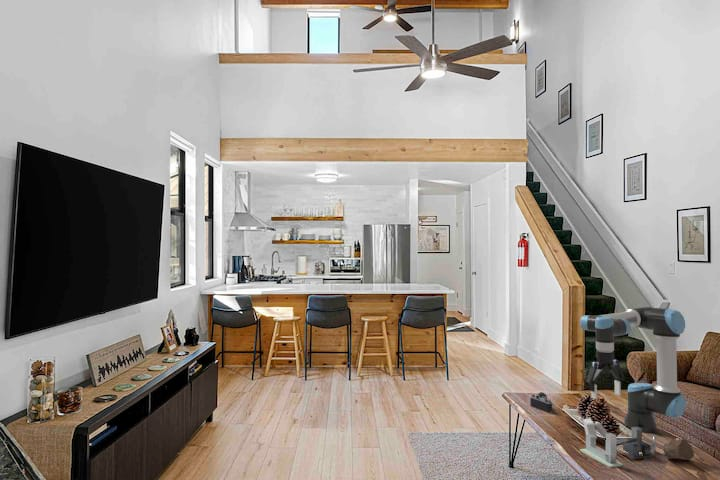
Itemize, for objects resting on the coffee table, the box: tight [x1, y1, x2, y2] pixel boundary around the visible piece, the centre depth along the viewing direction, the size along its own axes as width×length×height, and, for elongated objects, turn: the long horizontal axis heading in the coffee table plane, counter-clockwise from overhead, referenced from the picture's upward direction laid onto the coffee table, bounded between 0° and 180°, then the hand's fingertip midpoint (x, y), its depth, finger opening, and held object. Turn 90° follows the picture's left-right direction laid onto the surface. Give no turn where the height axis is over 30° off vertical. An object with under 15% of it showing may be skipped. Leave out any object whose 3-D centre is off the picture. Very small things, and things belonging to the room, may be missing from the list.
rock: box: [662, 437, 695, 461], centre depth 215 cm, size 12×10×10 cm
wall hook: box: [582, 418, 609, 440], centre depth 237 cm, size 8×10×10 cm
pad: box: [579, 447, 624, 469], centre depth 215 cm, size 7×18×1 cm, turn 16°
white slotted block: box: [585, 432, 618, 464], centre depth 216 cm, size 3×15×12 cm, turn 16°
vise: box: [616, 427, 657, 460], centre depth 220 cm, size 24×8×12 cm, turn 106°
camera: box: [529, 391, 554, 414], centre depth 282 cm, size 16×8×10 cm, turn 27°
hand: (605, 396), depth 220 cm, fingers open, 13 cm apart
